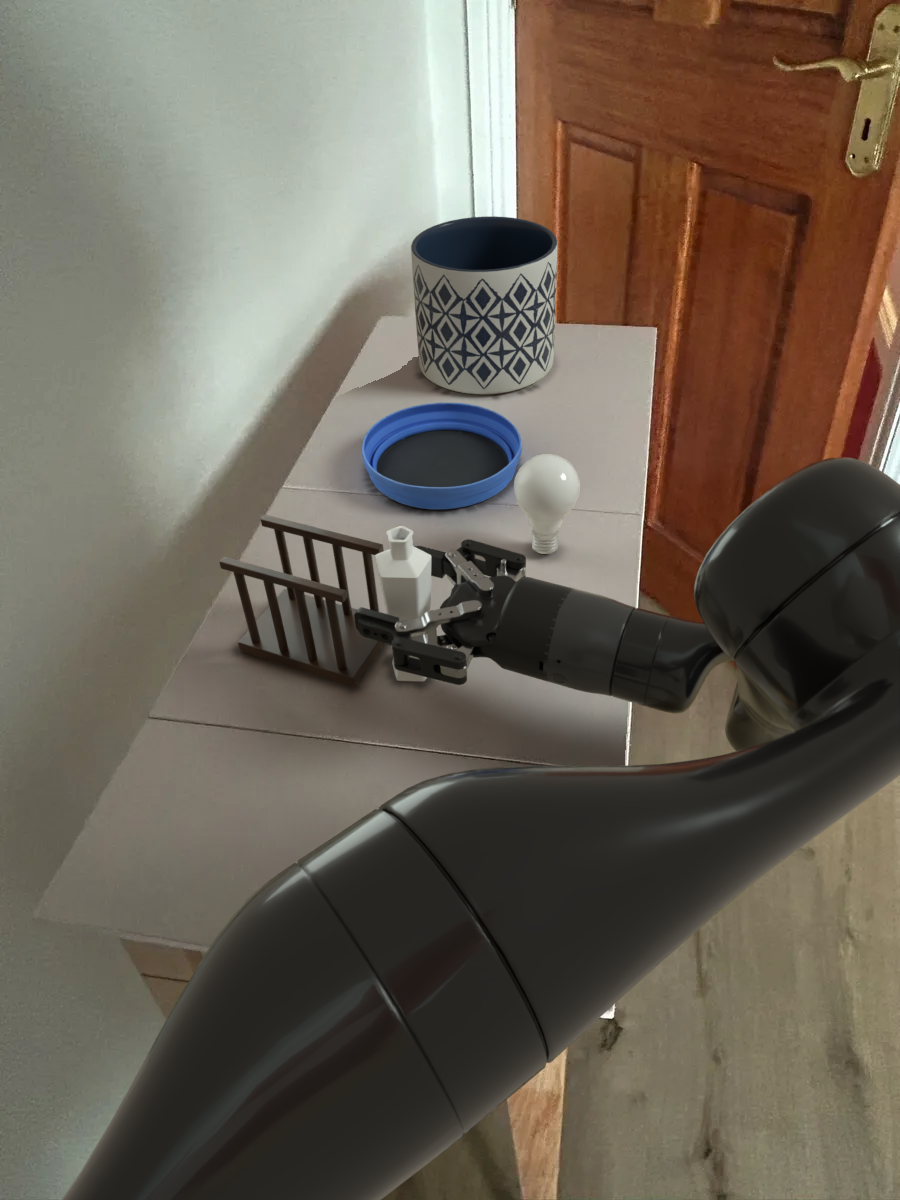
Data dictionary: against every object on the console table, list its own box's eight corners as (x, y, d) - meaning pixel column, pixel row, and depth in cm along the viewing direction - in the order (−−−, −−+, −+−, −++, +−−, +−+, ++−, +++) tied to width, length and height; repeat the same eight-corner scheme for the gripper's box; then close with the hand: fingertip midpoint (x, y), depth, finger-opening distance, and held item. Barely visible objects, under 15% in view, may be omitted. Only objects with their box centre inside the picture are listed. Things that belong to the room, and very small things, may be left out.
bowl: (373, 525, 97) (369, 498, 95) (357, 437, 111) (354, 411, 108) (537, 502, 99) (538, 475, 97) (503, 419, 112) (503, 393, 110)
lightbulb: (541, 524, 96) (543, 433, 89) (588, 549, 93) (595, 457, 85) (500, 552, 93) (499, 461, 86) (548, 579, 89) (551, 486, 82)
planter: (440, 408, 115) (433, 281, 104) (404, 347, 128) (394, 228, 117) (574, 383, 118) (581, 257, 107) (526, 325, 131) (527, 208, 121)
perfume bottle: (375, 671, 81) (357, 538, 71) (408, 643, 84) (395, 511, 74) (413, 694, 79) (400, 560, 69) (446, 665, 81) (438, 532, 71)
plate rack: (395, 628, 85) (385, 541, 78) (354, 687, 80) (339, 599, 73) (286, 597, 89) (267, 511, 82) (240, 651, 84) (215, 564, 77)
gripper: (597, 545, 73) (415, 502, 78) (535, 664, 63) (333, 606, 69) (592, 614, 78) (421, 569, 83) (533, 734, 68) (345, 675, 74)
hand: (381, 586), depth 76 cm, fingers open, 8 cm apart
